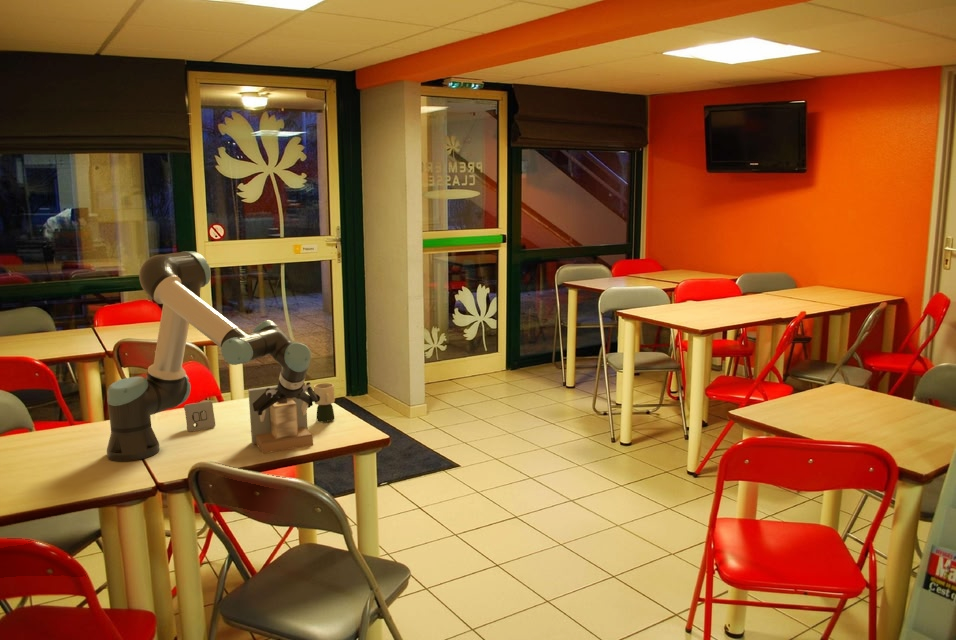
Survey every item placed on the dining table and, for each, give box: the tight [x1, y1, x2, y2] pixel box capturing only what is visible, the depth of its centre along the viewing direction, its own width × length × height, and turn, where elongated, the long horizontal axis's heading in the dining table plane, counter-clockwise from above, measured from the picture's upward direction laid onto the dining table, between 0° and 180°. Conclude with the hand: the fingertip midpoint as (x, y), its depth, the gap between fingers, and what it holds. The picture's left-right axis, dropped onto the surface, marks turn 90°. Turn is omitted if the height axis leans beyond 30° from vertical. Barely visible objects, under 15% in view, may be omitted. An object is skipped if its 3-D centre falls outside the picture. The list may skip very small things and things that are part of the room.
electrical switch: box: [183, 400, 216, 433], centre depth 269 cm, size 9×5×9 cm, turn 121°
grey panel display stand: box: [248, 382, 314, 454], centre depth 251 cm, size 18×12×18 cm, turn 117°
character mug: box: [313, 382, 336, 423], centre depth 275 cm, size 11×7×13 cm, turn 25°
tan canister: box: [270, 398, 298, 439], centre depth 251 cm, size 7×7×12 cm
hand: (282, 414), depth 252 cm, fingers open, 13 cm apart
